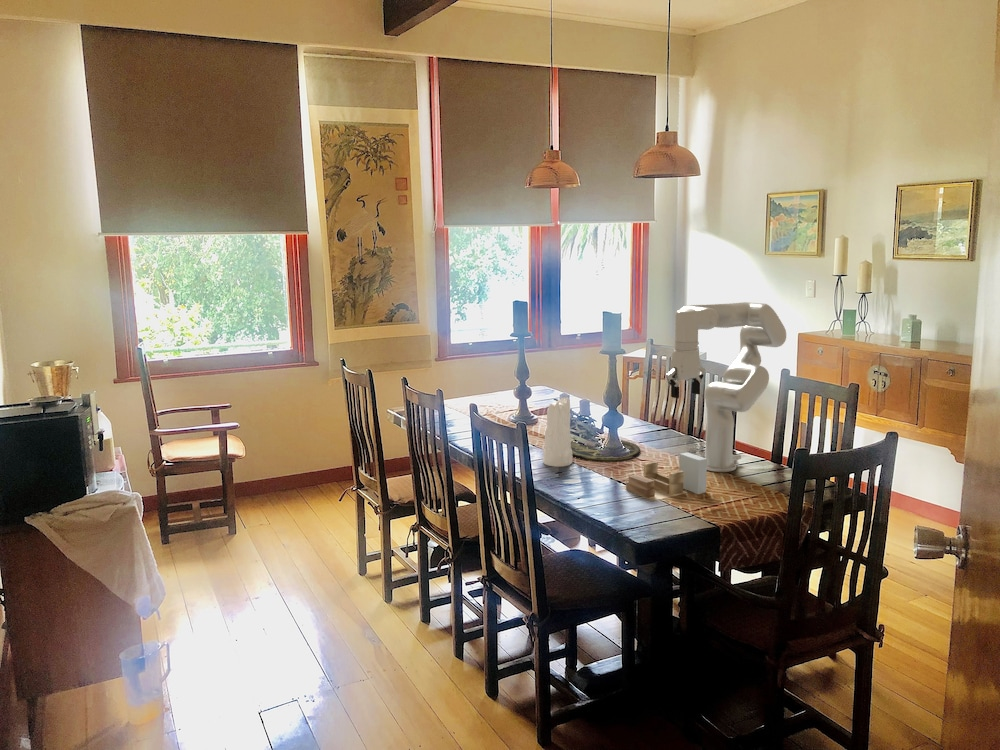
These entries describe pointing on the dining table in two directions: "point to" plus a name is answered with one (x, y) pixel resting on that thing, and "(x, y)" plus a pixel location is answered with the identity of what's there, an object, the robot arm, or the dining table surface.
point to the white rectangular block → (693, 472)
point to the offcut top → (641, 482)
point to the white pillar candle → (558, 435)
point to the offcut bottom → (640, 491)
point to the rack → (663, 482)
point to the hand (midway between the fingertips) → (685, 395)
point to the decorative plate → (594, 455)
